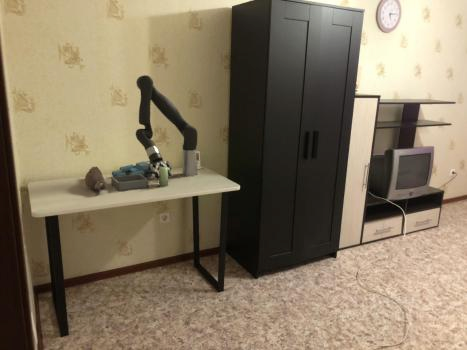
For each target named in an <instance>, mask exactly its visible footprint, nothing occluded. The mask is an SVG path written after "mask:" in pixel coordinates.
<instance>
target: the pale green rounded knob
mask: <svg viewBox="0 0 467 350" xmlns="http://www.w3.org/2000/svg"><path fill="white" fill-rule="evenodd" d="M158 175H159V179H158V180H159V181H158V182H159V183H158V185H159V187H163V188H166V187H168V186H169V176H168V168H167V167H160V168H159V170H158Z"/></svg>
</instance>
